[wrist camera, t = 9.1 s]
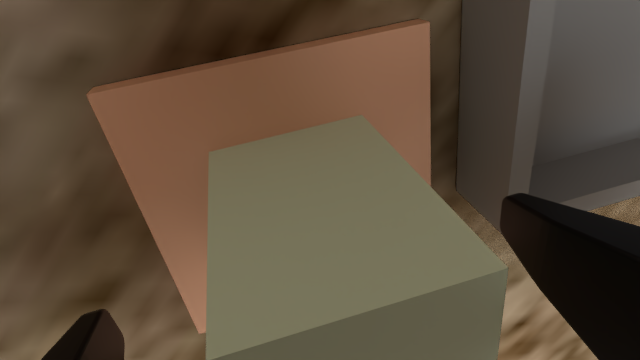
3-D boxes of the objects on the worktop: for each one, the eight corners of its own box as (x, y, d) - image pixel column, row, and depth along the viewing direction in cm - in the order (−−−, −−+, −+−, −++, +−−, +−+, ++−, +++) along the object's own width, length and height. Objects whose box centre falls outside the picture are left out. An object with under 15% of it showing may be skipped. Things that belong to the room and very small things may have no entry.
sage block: (361, 114, 10) (508, 267, 5) (374, 233, 12) (489, 426, 7) (208, 152, 10) (206, 360, 5) (248, 269, 12) (276, 503, 7)
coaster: (418, 18, 10) (429, 21, 10) (423, 254, 14) (431, 265, 14) (93, 87, 9) (86, 94, 9) (199, 319, 13) (199, 334, 13)
